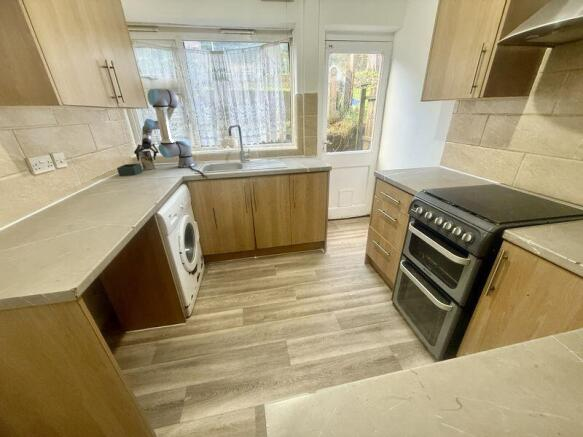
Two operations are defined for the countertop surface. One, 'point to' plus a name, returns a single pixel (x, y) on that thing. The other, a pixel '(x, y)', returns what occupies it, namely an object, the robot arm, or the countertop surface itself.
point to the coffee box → (146, 160)
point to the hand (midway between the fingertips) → (146, 159)
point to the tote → (129, 169)
